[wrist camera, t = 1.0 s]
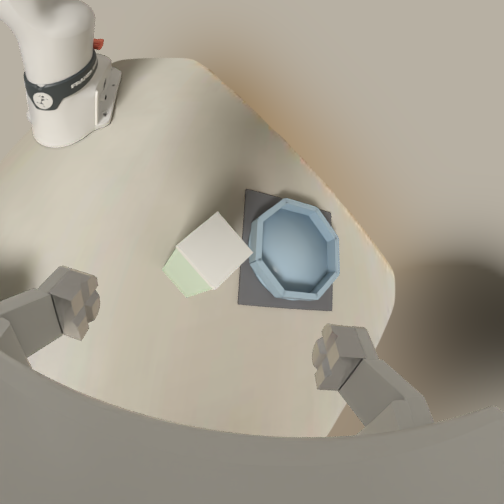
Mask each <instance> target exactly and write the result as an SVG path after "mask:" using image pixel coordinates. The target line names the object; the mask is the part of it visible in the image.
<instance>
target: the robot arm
mask: <svg viewBox="0 0 504 504" xmlns="http://www.w3.org/2000/svg"><path fill="white" fill-rule="evenodd" d="M0 20H2V21H3V22H4V23H5V24H6V25H7V26H8V27H9V28H10V29H11V31H12V32H13V33H14V35H15V37H16V39H17V41H18V44H19V48H20V52H21V56H22V60H23V64H24V69H25V72H24V81H25V82H24V84H25V87H26V95H27V103H28V109H29V110H28V111H27V118H28V120H29V121H30V122H31V124H32V131H33V135H34V137H35V139H36V140H37V141H38V142H39V143H40V144H42V145H44V146H47V147H64V146H68V145H71V144H73V143H75V142H78V141H79V140H81V139H83V138H84V137H86V136H87V135H88V134H90V133H91V132H92V131H94V130H96V129H100V128H102V127H105V126H107V125H109V124H110V122H111V118H112V113H113V109H114V104H115V100H116V96H117V91H118V87H119V84H120V80H121V71H120V70H118V69H117V68H115V67H112V66H111V60H110V59H109V58H108V57H107V56H105V55H101V54H96V53H95V50H94V49H97V50H100V49H101V48H102V46H103V42H104V40H103V39H94V26H95V14H94V12H93V10H92V9H91V8H90V7H89V6H88V5H87V4H86V3H84V2H82V1H79V0H0ZM104 115H106V116H104ZM97 286H98V282H97V278H96V277H95V276H94V275H91V274H88V273H85V272H82V271H78V270H75V269H72V268H69V267H66V266H59V267H58V268H57V269H56V270H55V271H54V272H53V273H52V274H51V275H50V276H49V277H48V278H47V279H46V281H45V282H44V283H43V284H42V285H41V286H40V287H39V288H38V289H35V288H33V289H31V290H28V291H25V292H23V293H20V294H17V295H15V296H12V297H9V298H7V299H4V300H2V301H0V504H504V412H503V411H502V410H501V409H499V408H497V407H496V406H488V407H486V408H483V409H480V410H477V411H474V412H471V413H468V414H465V415H461V416H458V417H455V418H451V419H447V420H444V421H440V422H436V423H434V421H433V418H432V416H431V413H430V410H429V408H428V405H427V403H426V400H425V398H424V396H423V395H422V394H421V393H419V392H418V391H417V390H416V389H415V388H414V387H413V386H412V385H410V384H409V383H408V382H407V381H406V380H405V379H404V378H403V377H401V376H400V375H399V374H398V373H397V372H396V371H394V370H393V369H392V368H391V367H390V366H389V365H388V364H387V363H386V362H384V361H383V360H379V358H378V356H377V353H376V351H375V348H374V346H373V343H372V341H371V338H370V336H369V334H368V331H367V329H366V328H364V327H355V326H352V327H351V326H343V325H335V324H326V325H325V326H324V328H323V330H322V336H323V337H321V338H320V339H318V340H317V341H316V343H315V345H314V348H313V352H312V362H313V365H314V367H315V368H316V369H317V372H316V373H315V379H316V385H317V389H320V390H335V391H338V392H339V393H340V395H341V396H342V397H343V398H344V400H345V401H346V402H347V404H348V405H349V406H350V408H351V409H352V410H353V411H354V413H355V414H356V415H357V417H358V418H359V419H360V420H361V422H362V423H363V424H364V425H365V428H364V429H363V430H361V431H360V432H359V433H358V434H357V435H355V436H340V437H275V436H260V435H249V434H240V433H232V432H224V431H217V430H211V429H205V428H200V427H194V426H189V425H184V424H180V423H175V422H171V421H167V420H163V419H159V418H155V417H151V416H147V415H144V414H140V413H137V412H134V411H130V410H127V409H124V408H121V407H118V406H115V405H112V404H109V403H107V402H104V401H101V400H98V399H96V398H93V397H91V396H88V395H86V394H83V393H81V392H78V391H76V390H74V389H72V388H69V387H67V386H65V385H63V384H61V383H58V382H56V381H54V380H52V379H50V378H48V377H46V376H44V375H42V374H40V373H38V372H37V371H35V370H33V369H32V367H31V365H30V363H29V361H28V359H27V358H28V357H29V356H31V355H32V354H34V353H35V352H37V351H38V350H40V349H42V348H43V347H45V346H46V345H48V344H49V343H51V342H53V341H54V340H56V339H57V338H59V337H61V336H62V334H64V335H66V336H69V337H72V338H75V339H77V340H80V341H82V339H83V337H84V336H85V334H86V332H87V331H88V329H89V325H88V323H89V322H91V321H93V320H95V318H96V316H97V315H98V311H99V308H100V297H99V294H98V293H97V292H96V290H95V289H96V288H97Z"/></svg>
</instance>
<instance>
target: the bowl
mask: <svg viewBox="0 0 504 504" xmlns="http://www.w3.org/2000/svg"><path fill="white" fill-rule="evenodd" d="M248 247H249V248H250V249H251V251H252V252H253V253H252V254H251V255H250V256H249V263H250V266H251V267H252V270H253V272H254V274H255V276H256V277H257V279H258V280H259V282H260V283H261V284H262V285H263V286H264V287H265V288H266V289H267V290H268V291H269V292H271V293H272V294H273V296H274V297H276V298H282V299H285V300H305V301H312V300H318V299H319V298H320V297H321V296H322V295H323V294H324V293H325V291H326V290H327V289H328V288H329V287H330V285H331V284H332V283H333V282H334V281H335V279H336V278H337V277H338V276H339V274H340V262H339V238H338V236H337V234H336V233H335V231H334V230H333V228H332V227H331V226H330V224H329V223H328V221H327V220H326V218H325V217H324V216H323V214H322V213H321V211H320V210H319V209H318V208H317V207H315V206H312V205H309V204H305V203H302V202H299V201H295V200H292V199H288V198H284V199H282V200H281V201H280V202H278V203H277V204H276V205H274V206H273V207H272V208H270V209H269V210H267V211H265V212H264V213H263V214H262V215H260V216H259V217H258V218H257V219H256V220H254V221H253V222H252V224H251V231H250V234H249V238H248Z"/></svg>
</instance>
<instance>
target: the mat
mask: <svg viewBox="0 0 504 504" xmlns="http://www.w3.org/2000/svg"><path fill="white" fill-rule="evenodd" d="M281 200H282V198H278V197H275V196H271V195H268V194H264V193H260V192H256V191H253V190H249V189H246V194H245V207H244V220H243V234H242V240H243V241H244V242H245V244H246V245H247V246H248V238H249V234H250V231H251V224H252V222H253V221H254V220H256V219H257V218H258V217H259V216H260V215H262V214H263V213H264V212H265V211H267V210H269V209H270V208H272V207H273V206H274V205H276V204H277V203H278V202H280V201H281ZM320 211H321V213H322V214H323V216H324V217H325V218H326V220H327V221H328V223H329V224H330V226H331V213H329V212H326V211H323V210H320ZM332 290H333V283H332V284H331V285H330V287H329V288H328V289H327V290H326V291H325V293H324V294H323V295H322V296H321V297H320V298H319V299H318V300H312V301H305V300H285V299H282V298H276V297H274V296H273V294H272V293H271V292H269V291H268V290H267V289H266V288H265V287H264V286H263V285H262V284H261V283H260V282H259V280H258V279H257V277H256V276H255V274H254V272H253V270H252V267H251V266H250V263H249V257H248V258H247V259H246V260H245V261H244V262H243V263H242V264H241V265H240V277H239V292H238V304H241V305H251V306H263V307H275V308H289V309H303V310H321V311H332Z"/></svg>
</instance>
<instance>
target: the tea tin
mask: <svg viewBox="0 0 504 504" xmlns="http://www.w3.org/2000/svg"><path fill="white" fill-rule="evenodd" d="M252 253H253V252H252V251H251V249H250V248H249V247H248V246H247V245H246V244H245V242H244V241H243V240H242V239H241V238H240V237H239V235H238V234H237V233H236V232H235V231H234V230H233V228H232V227H231V226H230V225H229V224H228V223H227V222H226V220H225V219H224V218H223V217H222V216H221V215H220V213H219V212H218V211H217V212H216V213H215V214H214V215H212V216H211V217H210V218H209V219H208V220H206V221H205V222H204V223H203V224H201V225H200V226H199V227H198V228H196V229H195V230H194V231H193V232H192V233H190V234H189V235H188V236H187V237H186V238H184V239H183V240H182V241H181V242H180V243H178V244H177V245H176V249H175V251H174V252H173V254H172V255H171V257H170V258H169V260H168V261H167V263H166V264H165V266H164V267H163V269H162V271H163V272H164V273H165V274H166V275H167V276H168V278H169V279H170V280H171V281H172V282H173V283H174V284H175V286H176V287H177V288H178V289H179V290H180V291H181V292H182V293H183V294H184V296H185V297H186V298H187V297H190V296H193V295H196V294H199V293H202V292H205V291H208V290H211V289H213V290H215V289H217V288H218V287H219V286H220V285H221V284H222V283H223V282H224V281H225V280H226V279H227V278H228V277H229V276H230V275H231V274H232V273H233V272H234V271H235V270H236V269H237V268H238V267H239V266H240V265H241V264H242V263H243V262H244V261H245V260H246V259H247V258H248V257H249V256H250V255H251V254H252Z"/></svg>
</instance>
